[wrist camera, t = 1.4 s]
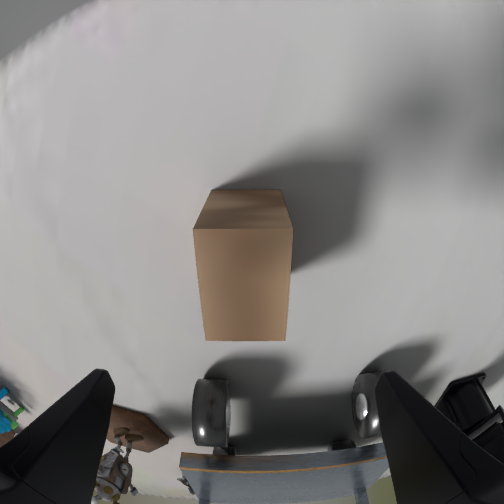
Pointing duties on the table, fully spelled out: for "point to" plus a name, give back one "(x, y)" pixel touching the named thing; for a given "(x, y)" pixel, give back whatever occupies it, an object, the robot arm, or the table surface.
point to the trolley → (280, 456)
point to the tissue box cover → (6, 437)
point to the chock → (244, 265)
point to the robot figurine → (115, 465)
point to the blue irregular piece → (7, 414)
